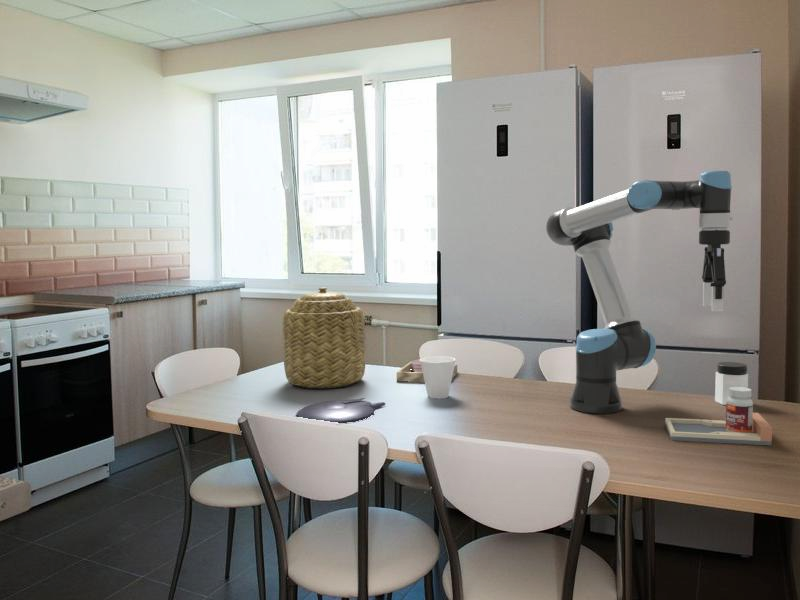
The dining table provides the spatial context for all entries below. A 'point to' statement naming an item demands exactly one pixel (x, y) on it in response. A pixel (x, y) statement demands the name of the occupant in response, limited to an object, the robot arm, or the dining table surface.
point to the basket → (324, 341)
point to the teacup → (416, 365)
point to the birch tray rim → (414, 374)
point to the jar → (729, 379)
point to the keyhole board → (718, 431)
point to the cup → (437, 375)
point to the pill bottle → (739, 410)
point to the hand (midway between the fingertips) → (712, 308)
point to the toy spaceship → (340, 410)
